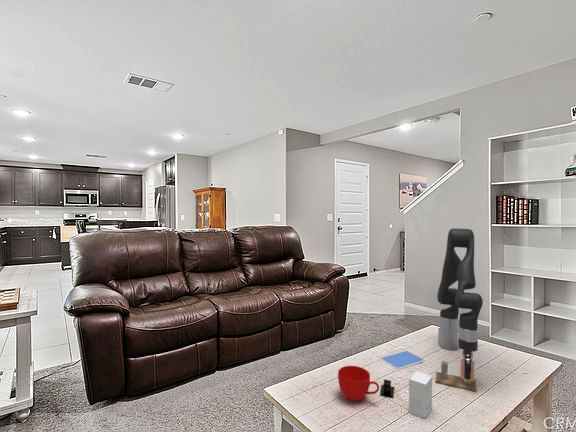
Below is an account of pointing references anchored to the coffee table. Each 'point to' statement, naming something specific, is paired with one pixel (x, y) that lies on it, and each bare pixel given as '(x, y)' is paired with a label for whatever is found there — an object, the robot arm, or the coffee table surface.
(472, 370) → the salmon pink cube
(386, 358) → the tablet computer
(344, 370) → the ceramic cup
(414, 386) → the small box
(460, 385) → the board
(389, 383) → the black knobbed base
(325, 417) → the coffee table surface
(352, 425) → the coffee table surface
